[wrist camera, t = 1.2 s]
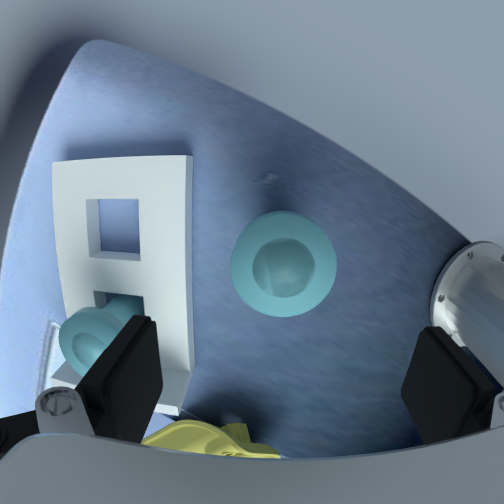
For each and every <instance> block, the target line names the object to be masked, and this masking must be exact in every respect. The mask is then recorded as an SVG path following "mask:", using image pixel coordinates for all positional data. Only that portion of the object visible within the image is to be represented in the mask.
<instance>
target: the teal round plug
mask: <svg viewBox="0 0 504 504" xmlns="http://www.w3.org/2000/svg"><path fill="white" fill-rule="evenodd" d="M336 270H337V261H336V254H335V251H334V248H333V245H332V243H331V241H330V240H329V238H328V237H327V235H326V234H325V233H324V232H323V230H322V229H321V228H320V227H319V226H318V225H317V224H316V223H315V222H314V221H313V220H311V219H310V218H308V217H306V216H304V215H302V214H300V213H296V212H292V211H274V212H270V213H266V214H264V215H261V216H259V217H258V218H256V219H254V220H253V221H252V222H250V223H249V224H248V225H247V226H246V227H245V228H244V230H243V231H242V232H241V234H240V236H239V237H238V239H237V242H236V244H235V247H234V249H233V252H232V256H231V262H230V273H231V278H232V282H233V285H234V287H235V289H236V291H237V292H238V294H239V295H240V297H241V298H242V299H243V300H244V301H245V302H246V303H247V304H248V305H249V306H250V307H252V308H253V309H255V310H257V311H259V312H261V313H264V314H266V315H270V316H276V317H289V316H295V315H299V314H302V313H304V312H307V311H308V310H310V309H312V308H314V307H315V306H316V305H318V304H319V303H320V302H321V301H322V300H323V299H324V298H325V297H326V295H327V294H328V292H329V291H330V289H331V287H332V285H333V283H334V280H335V276H336Z"/></svg>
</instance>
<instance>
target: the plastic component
mask: <svg viewBox="0 0 504 504" xmlns="http://www.w3.org/2000/svg"><path fill="white" fill-rule="evenodd" d="M141 444H144V445H149V446H155V447H160V448H167V449H173V450H180V451H187V452H195V453H203V454H212V455H222V456H234V457H251V458H281V457H280V454H279V453H278V452H277V450H275V449H274V448H273V447H271V446H270V445H266V444H258V443H251V440H250V436H249V433H248V429H247V425H246V423H244V424H242V423H239V422H236V423H231V424H230V423H228V424H226V425H225V426H223V427H220V428H219V427H217V426H214V425H211V424H209V423H205V422H201V421H196V420H180V421H176V422H174V423H171V424H169V425H167V426H166V427H164V428H162V429H160V430H159V431H157V432H155V433H153V434H151V435H150V436H148V437H146V438H144V439H143V440H142V442H141Z"/></svg>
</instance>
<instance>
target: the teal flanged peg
mask: <svg viewBox="0 0 504 504" xmlns="http://www.w3.org/2000/svg"><path fill="white" fill-rule="evenodd" d="M133 315H143V316H145V310H144V301H143V300H142V299H141V298H140V297H139V296H136V295H127V294H117V295H116V296H115V297H114V298H113V299H112V300H111V301H110V302H109V303H108V304H107V305H106V306H105V307H104V308H102V309H101V308H97V307H84V308H81V309H79V310H78V311H76V312H75V313H74V314H73V315H72V316H71V317H69V318H68V319H67V320H66V321H65V322H64V323H63V324H62V326H61V328H60V331H59V344H60V348H61V351H62V353H63V355H64V357H65V359H66V360H67V362H68V363H69V364H70V366H71V367H72V368H73V369H74V370H75V371H76V372H77V373H78V374H80V375H81V376H82V377H84V376H85V374H86V373H87V372H88V370H89V369H90V368H91V366H92V365H93V364H94V363H95V361H96V360H97V359H98V357H99V356H100V355H101V354H102V352H103V351H104V350H105V349H106V348H107V347H108V346H109V345H110V343H111V342H112V341H113V340H114V338H115V337H116V336H117V334H118V333H119V332H120V331H121V329H122V328H123V327H124V326H125V324H126V323H127V322H128V321H129V320H130V318H131V317H132V316H133Z"/></svg>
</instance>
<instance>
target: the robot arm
mask: <svg viewBox="0 0 504 504" xmlns="http://www.w3.org/2000/svg"><path fill="white" fill-rule="evenodd" d="M430 319H431V323H432V326H430V327H425V329H424V330H423V331H421V332H420V334H419V337H418V340H417V344H416V347H415V350H414V353H413V356H412V359H411V362H410V365H409V368H408V371H407V374H406V377H405V379H404V382H403V385H402V388H401V397H402V399H403V401H404V403H405V405H406V407H407V409H408V411H409V413H410V415H411V417H412V419H413V421H414V423H415V425H416V428H417V430H418V432H419V434H420V436H421V438H422V440H423V442H424V444H425V445H422V446H417V447H411V448H406V449H400V450H393V451H386V452H379V453H371V454H362V455H352V456H339V457H323V458H251V457H234V456H222V455H212V454H203V453H195V452H187V451H180V450H173V449H167V448H160V447H155V446H149V445H144V444H141V441H142V439H143V436H144V434H145V431H146V429H147V427H148V424H149V422H150V419H151V417H152V414H153V412H154V410H155V407H156V405H157V402H158V400H159V398H160V395H161V393H162V390H163V377H162V370H161V362H160V354H159V345H158V335H157V325H156V322H155V321H152V320H151V317H150V316H143V315H133V316H132V317H131V318H130V320H129V321H128V322H127V323H126V324H125V326H124V327H123V328H122V329H121V331H120V332H119V333H118V334H117V336H116V337H115V338H114V340H113V341H112V342H111V343H110V345H109V346H108V347H107V348H106V349H105V350H104V351H103V352H102V354H101V355H100V356H99V357H98V359H97V360H96V361H95V363H94V364H93V365H92V366H91V368H90V369H89V370H88V372H87V373H86V374H85V376H84V377H83V378H82V379H81V381H80V382H79V383H78V385H77V386H76V387H75V389H72V388H69V387H64V386H58V387H52V388H49V389H47V390H45V391H43V392H42V393H41V394H40V395H39V396H38V397H37V399H36V401H35V409H36V410H33V411H29V412H25V413H21V414H17V415H13V416H9V417H4V418H0V504H504V393H500V394H498V395H497V396H496V397H495V399H494V398H493V396H492V395H493V393H494V391H495V389H496V388H495V387H494V385H493V384H492V383H491V382H490V381H489V379H488V378H487V377H486V376H485V375H484V374H483V372H482V371H481V370H480V369H479V368H478V367H477V366H476V364H475V363H474V362H473V361H472V360H471V359H470V358H469V357H468V355H467V354H466V353H465V352H464V351H463V350H462V349H461V348H460V346H467V347H468V348H469V349H470V350H471V351H472V352H473V354H474V355H475V356H476V357H477V358H478V359H479V360H480V361H481V362H482V363H483V365H484V366H485V367H486V368H487V369H488V370H489V371H490V372H491V374H492V375H493V376H494V377H495V378H496V379H497V381H498V382H499V383H500V384H501V385H502V386H503V388H504V249H503V248H501V247H500V246H498V245H496V244H494V243H491V242H487V241H479V242H474V243H471V244H469V245H467V246H465V247H464V248H462V249H461V250H459V251H458V252H457V253H456V254H455V255H454V256H453V257H452V258H451V259H450V260H449V261H448V263H447V264H446V265H445V266H444V268H443V270H442V271H441V273H440V275H439V276H438V279H437V281H436V283H435V286H434V289H433V292H432V296H431V302H430Z"/></svg>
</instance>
